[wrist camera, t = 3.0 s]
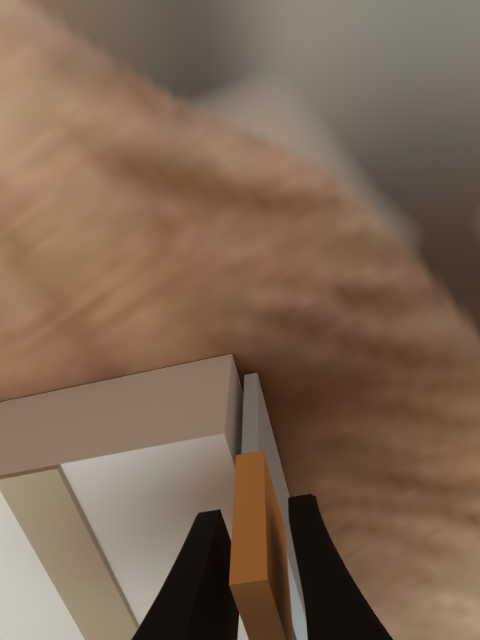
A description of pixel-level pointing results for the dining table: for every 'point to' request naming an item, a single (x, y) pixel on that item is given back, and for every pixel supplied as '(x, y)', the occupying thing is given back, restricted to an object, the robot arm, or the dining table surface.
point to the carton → (110, 495)
